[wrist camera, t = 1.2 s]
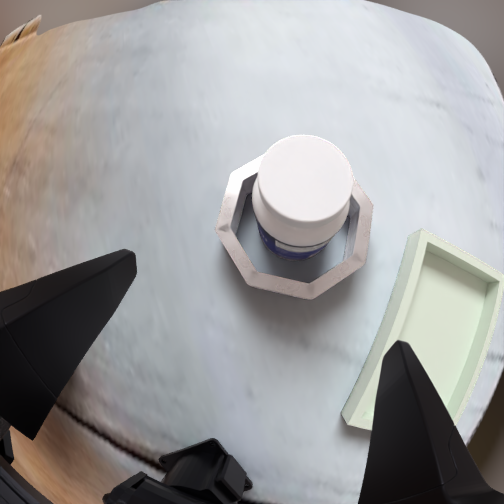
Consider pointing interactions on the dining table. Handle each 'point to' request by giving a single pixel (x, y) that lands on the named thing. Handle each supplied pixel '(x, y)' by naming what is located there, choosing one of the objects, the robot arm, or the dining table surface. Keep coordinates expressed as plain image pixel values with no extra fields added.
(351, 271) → the steel collar
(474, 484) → the robot arm
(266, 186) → the pill bottle
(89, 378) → the dining table surface
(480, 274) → the sage tray
